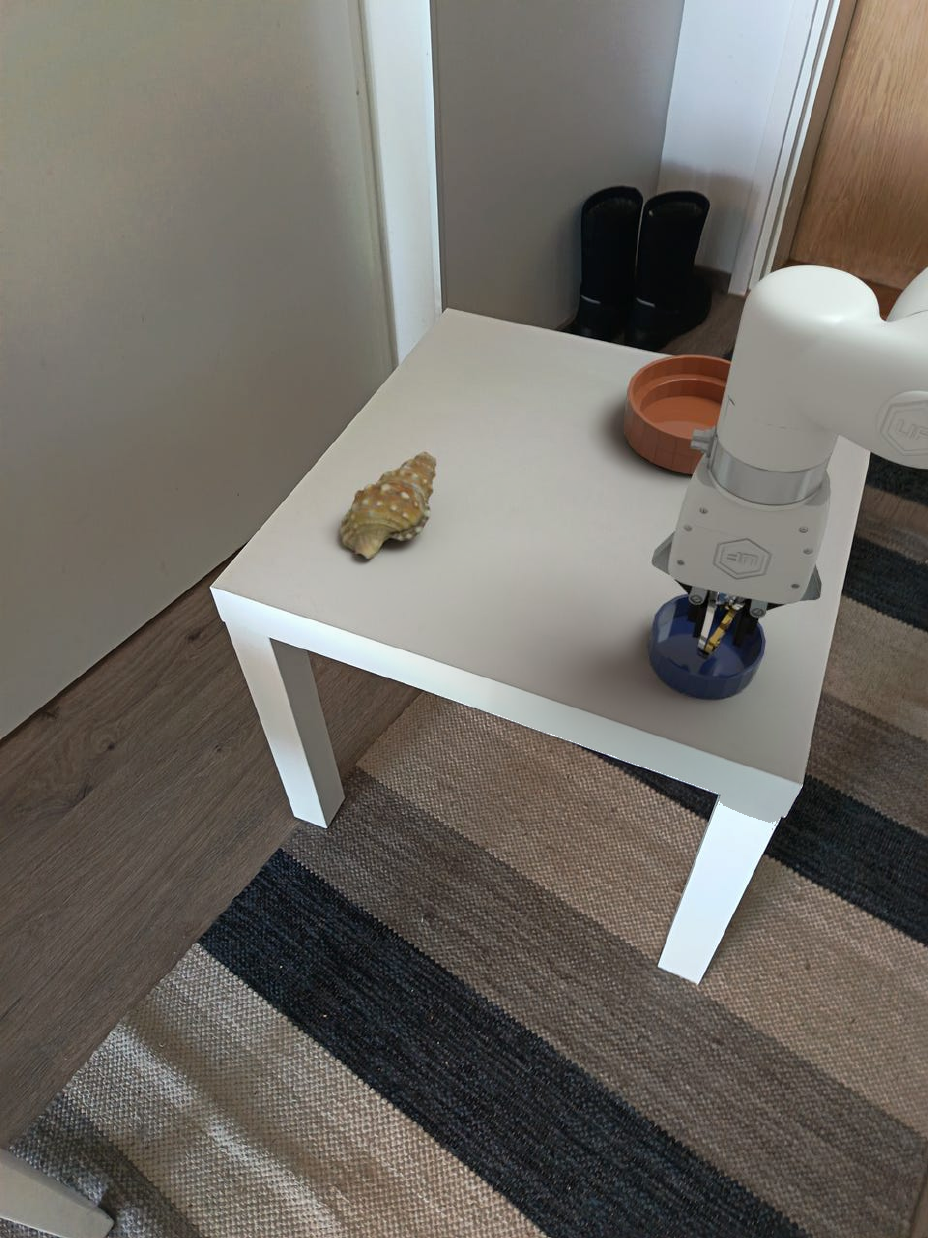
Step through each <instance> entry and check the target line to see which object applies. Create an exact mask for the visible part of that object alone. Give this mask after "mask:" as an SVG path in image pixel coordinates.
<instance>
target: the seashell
mask: <svg viewBox="0 0 928 1238" xmlns="http://www.w3.org/2000/svg"><path fill="white" fill-rule="evenodd" d="M436 466H437V459H436V458H435V457H434V456H433V455H431V454H430V453H429V452H427V451H423V452H421V453H420V452H419V454H416V455H415V456H414V457H413V458H409V459H407V460H405V461H403V463H402V464H401V466H400V467H398V468H397V469H393V470H388V471H384V472H383V473H382V474H381V476H380V477H379V479H378V480H377V481H376V482H375V484H373V483H369V484H367V485H365V486H364V489H363V490H362V489H358V490H357V491H356V492H355V493H354V499H353V501H352V504H351V506H350V508H349V510H348V512H347V514H346V515H345V516H344V517H343V518H342V520H341V527H340V531H339V533H340V538H341V540H342V544H343V545H344V546H345V547H346V548H347V549H350V550H351V551H353V552H354V554H355V555H359V554H360V555H361V556H364V557H365V559H366V560H370V559H372V558H373V557H375V556H376V554H377V553H378V552H379V550H380V549H381V547H382V545H383V544H384V542H386V541H387V540H388V539H394V540H397V541H401V542H403V541H408V540H412V539H413V538H415V537H416V536H418V535H419V534H420V533H422V532H423V530H424V527H425V526H426V524H427V522H428V521H429V520H430V518H431V515H432V513H431V506H430V503H429V500H430V498H431V496H432V495H433V494H434V491H435V489H434V486H433V483H434V481H433V480H434V478H435V477H436V475H437V474H436Z"/></svg>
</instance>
